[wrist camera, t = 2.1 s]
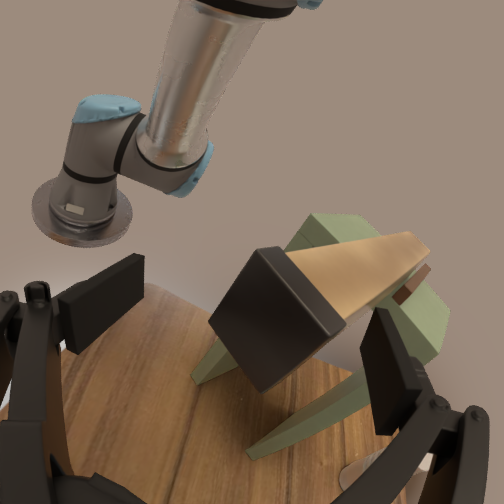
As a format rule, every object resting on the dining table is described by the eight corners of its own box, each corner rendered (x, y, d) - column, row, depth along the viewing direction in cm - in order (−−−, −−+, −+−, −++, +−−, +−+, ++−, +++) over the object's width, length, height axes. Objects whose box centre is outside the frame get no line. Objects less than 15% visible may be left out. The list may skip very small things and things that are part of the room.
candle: (330, 479, 35) (404, 450, 27) (350, 456, 40) (418, 423, 32) (352, 504, 32) (427, 480, 24) (370, 480, 37) (439, 450, 29)
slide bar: (206, 321, 11) (255, 247, 9) (386, 255, 28) (409, 228, 26) (259, 395, 9) (330, 337, 7) (408, 279, 26) (433, 252, 24)
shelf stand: (190, 374, 40) (320, 199, 24) (245, 350, 49) (367, 205, 33) (252, 460, 34) (453, 341, 17) (301, 422, 42) (459, 301, 26)
